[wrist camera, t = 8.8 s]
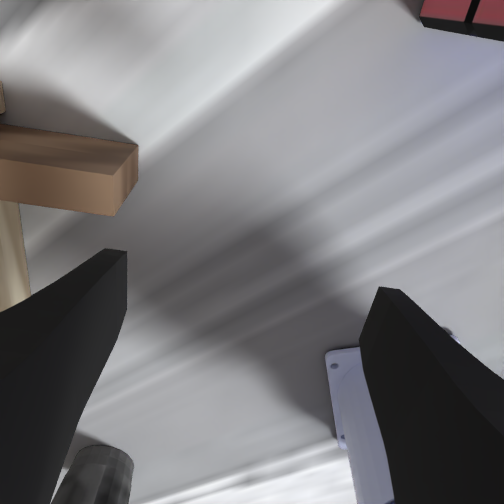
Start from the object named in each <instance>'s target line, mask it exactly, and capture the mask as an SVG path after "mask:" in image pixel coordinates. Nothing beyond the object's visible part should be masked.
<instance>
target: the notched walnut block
mask: <svg viewBox="0 0 504 504" xmlns="http://www.w3.org/2000/svg"><path fill="white" fill-rule="evenodd" d="M137 181H138V145H135V144H128V143H122V142H115V141H109V140H102V139H96V138H89V137H83V136H76V135H70V134H64V133H57V132H51V131H44V130H38V129H31V128H25V127H18V126H12V125H5V124H0V200H2V201H9V202H16V203H23V204H30V205H37V206H44V207H51V208H58V209H65V210H72V211H78V212H85V213H92V214H99V215H106V216H113V217H114V215H115V214H116V212H117V211H118V209H119V208H120V207H121V205H122V204H123V202H124V201H125V199H126V198H127V196H128V195H129V193H130V192H131V190H132V189H133V187H134V186H135V184H136V183H137Z"/></svg>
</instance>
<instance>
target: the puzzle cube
mask: <svg viewBox="0 0 504 504" xmlns="http://www.w3.org/2000/svg"><path fill="white" fill-rule="evenodd" d="M419 17H420V19H421V22H422V24H423V26H424V27H427V28H433V29H438V30H443V31H449V32H454V33H459V34H465V35H470V36H476V37H481V38H487V39H493V40H498V41H504V0H424V3H423V6H422V9H421V12H420V16H419Z"/></svg>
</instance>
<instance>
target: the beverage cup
mask: <svg viewBox="0 0 504 504" xmlns="http://www.w3.org/2000/svg"><path fill="white" fill-rule="evenodd" d="M133 469H134V464H133V461H132V459H131V458H130V457H129V456H128V455H127V454H126V453H124V452H122V451H121V450H118V449H116V448H113V447H109V446H103V445H101V446H90V447H86V448H84V449H82V450H81V451H79V453H78V454H77V455H76V458H75V460H74V462H73V464H72V465H71V467H70V469H69V471H68V472H67V473H66V475H65V477H64V479H63V481H62V483H61V485H60V487H59V489H58V491H57V493H56V495H55V497H54V498H53V500H52V502H51V504H128V502H129V496H130V491H131V481H132V473H133Z"/></svg>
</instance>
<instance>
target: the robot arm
mask: <svg viewBox="0 0 504 504" xmlns="http://www.w3.org/2000/svg"><path fill="white" fill-rule="evenodd" d="M126 311H127V251H121V250H113V249H106V248H105V249H103V250H102V251H100V252H99V253H97V254H96V255H94V256H93V257H91V258H90V259H88V260H87V261H85V262H84V263H82V264H81V265H79V266H78V267H77V268H75V269H74V270H72V271H71V272H69V273H68V274H66V275H64V276H63V277H61V278H60V279H58V280H57V281H55V282H54V283H52V284H50V285H49V286H47V287H45V288H44V289H42V290H40V291H38V292H37V293H35V294H33V295H32V296H30V297H28V298H26V299H25V300H23V301H21V302H19V303H17V304H16V305H14V306H12V307H10V308H8V309H6V310H4V311H2V312H0V504H50V502H51V499H52V496H53V493H54V490H55V487H56V484H57V481H58V478H59V475H60V472H61V469H62V466H63V463H64V460H65V458H66V455H67V452H68V449H69V446H70V444H71V441H72V438H73V435H74V433H75V430H76V427H77V424H78V422H79V419H80V417H81V415H82V412H83V410H84V408H85V406H86V403H87V401H88V399H89V397H90V395H91V393H92V391H93V389H94V387H95V385H96V383H97V381H98V379H99V377H100V374H101V372H102V370H103V368H104V366H105V364H106V362H107V360H108V358H109V356H110V354H111V351H112V349H113V347H114V345H115V343H116V341H117V338H118V335H119V332H120V329H121V326H122V323H123V320H124V317H125V314H126ZM359 344H360V347H356V348H348V349H340V350H333V351H329V352H327V353H326V355H325V361H326V368H327V374H328V381H329V387H330V394H331V401H332V407H333V414H334V420H335V427H336V433H337V440H338V446H339V447H340V448H341V449H347V451H348V457H349V462H350V467H351V473H352V478H353V483H354V489H355V494H356V499H357V504H504V380H503V379H502V378H501V377H499V376H498V375H497V374H495V373H494V372H493V371H491V370H490V369H489V368H488V367H486V366H485V365H484V364H483V363H481V362H480V361H479V360H478V359H477V358H475V357H474V356H473V355H472V354H471V353H469V352H468V351H467V350H466V349H465V348H463V347H462V346H461V345H460V341H459V340H458V338H457V337H456V336H454V335H449V334H448V333H447V332H446V331H445V330H443V329H442V328H441V327H440V326H439V325H438V324H437V323H436V322H435V321H434V320H433V319H432V318H431V317H430V316H429V315H427V314H426V313H425V312H424V311H423V310H422V309H421V308H420V307H419V306H418V305H417V304H416V303H415V302H414V301H413V300H411V299H410V298H409V297H408V296H407V295H406V294H405V293H403V292H402V291H401V290H400V289H393V288H386V287H379V288H378V290H377V293H376V296H375V298H374V301H373V304H372V306H371V309H370V311H369V314H368V317H367V319H366V322H365V325H364V327H363V330H362V333H361V335H360V338H359ZM333 363H337V364H334V365H332V364H333Z"/></svg>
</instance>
